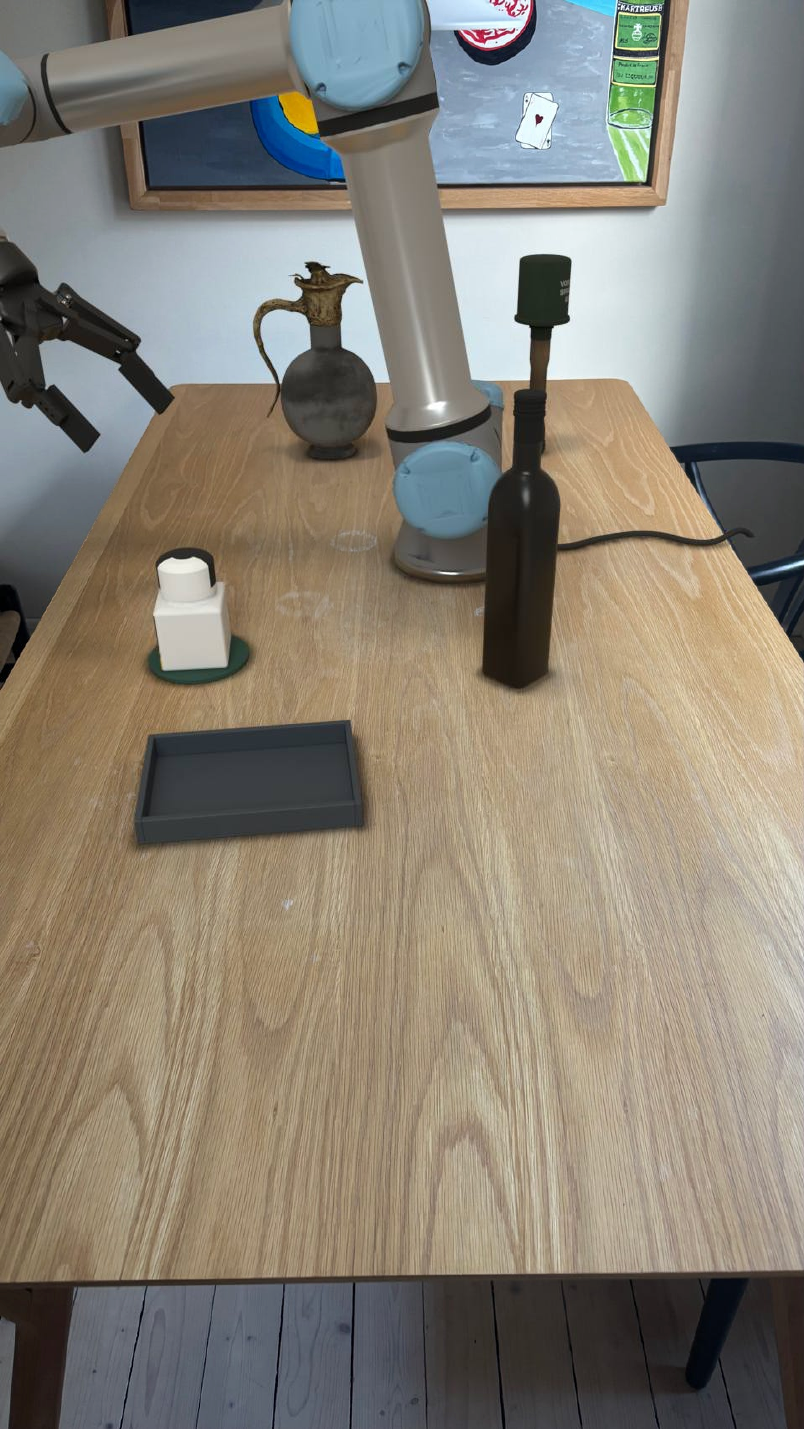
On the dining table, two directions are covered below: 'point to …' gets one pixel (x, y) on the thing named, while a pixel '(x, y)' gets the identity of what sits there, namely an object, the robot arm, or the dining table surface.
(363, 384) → the pitcher
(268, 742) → the tray
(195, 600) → the medicine bottle
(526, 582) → the wine bottle
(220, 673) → the coaster
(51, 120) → the robot arm
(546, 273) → the stick grenade
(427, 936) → the dining table surface
